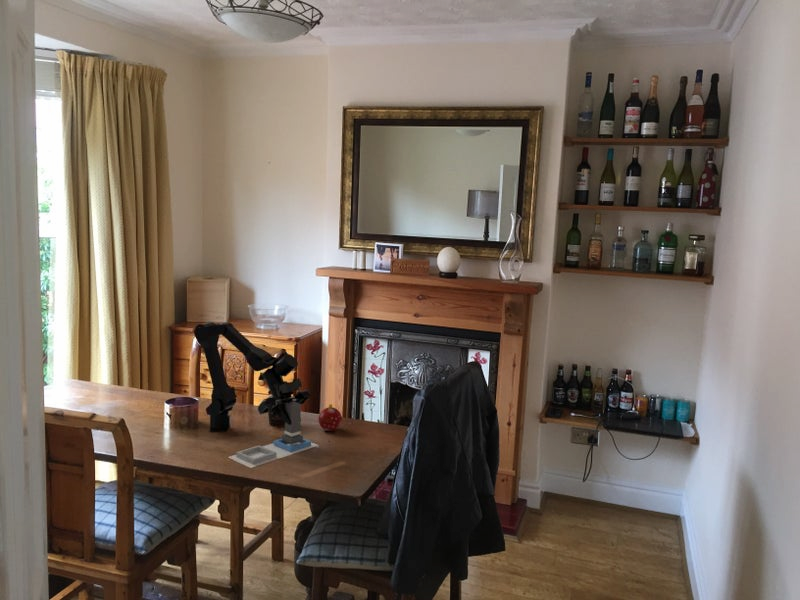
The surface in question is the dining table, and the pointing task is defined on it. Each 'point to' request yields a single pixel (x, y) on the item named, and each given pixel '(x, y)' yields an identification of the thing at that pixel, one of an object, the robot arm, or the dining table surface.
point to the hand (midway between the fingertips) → (295, 423)
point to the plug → (293, 424)
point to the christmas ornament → (330, 418)
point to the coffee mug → (274, 418)
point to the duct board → (270, 452)
